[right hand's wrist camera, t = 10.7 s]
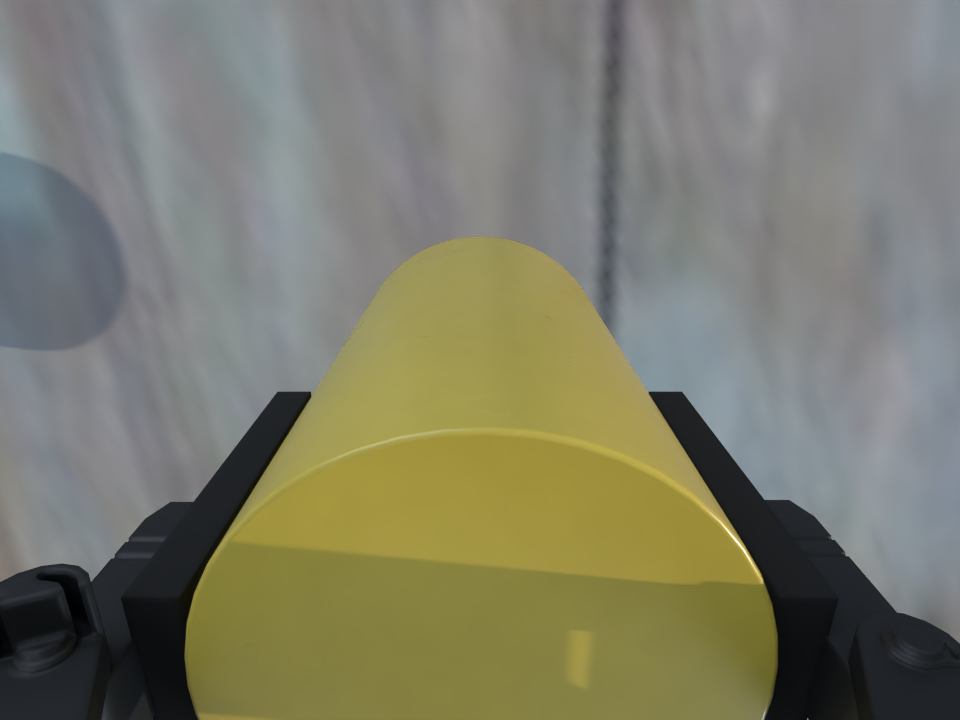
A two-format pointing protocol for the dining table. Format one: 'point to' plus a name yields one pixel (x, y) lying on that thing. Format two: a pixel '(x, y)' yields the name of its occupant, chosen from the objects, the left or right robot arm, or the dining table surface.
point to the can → (481, 528)
